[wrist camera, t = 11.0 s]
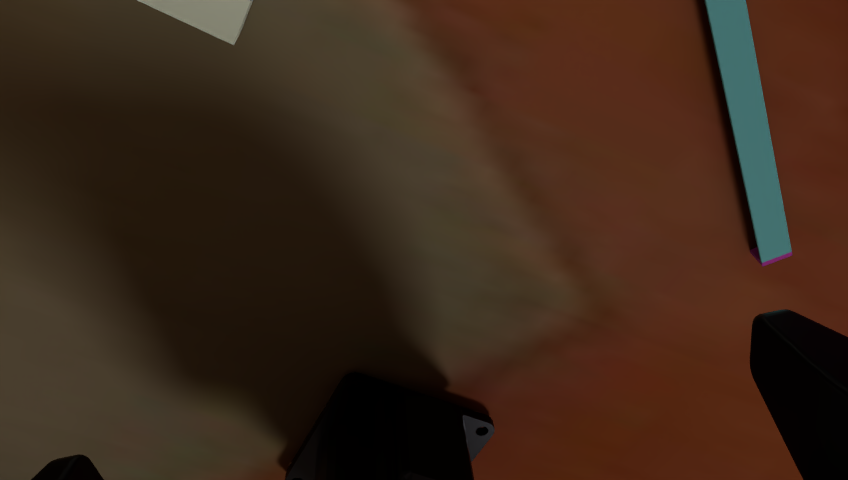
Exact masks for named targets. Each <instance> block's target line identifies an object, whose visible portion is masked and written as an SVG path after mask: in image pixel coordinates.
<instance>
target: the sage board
mask: <svg viewBox="0 0 848 480" xmlns="http://www.w3.org/2000/svg"><path fill="white" fill-rule="evenodd" d="M137 1H140V2H142V3H144V4H146V5H148V6H150V7H152V8H155V9H157V10H159V11H161V12H163V13H165V14H168V15H170V16H172V17H174V18H176V19H178V20H180V21H183V22H185V23H187V24H189V25H191V26H193V27H196V28H198V29H200V30H202V31H204V32H206V33H208V34H211V35H213V36H215V37H217V38H219V39H221V40H223V41H226V42H228V43H230V44H232V45H234V44H235V42H236V40H237V39H238V37H239V35H240V32H241V30H242V27H243V25H244V22H245V20H246V17H247V14H248V12H249V9H250V7H251V4H252V2H253V0H137Z"/></svg>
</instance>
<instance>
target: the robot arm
mask: <svg viewBox="0 0 848 480" xmlns="http://www.w3.org/2000/svg"><path fill="white" fill-rule="evenodd" d="M750 369H751V373H752V376H753V379H754V381H755V383H756V385H757V387H758V389H759V391H760V393H761V395H762V397H763V399H764V401H765V403H766V405H767V407H768V409H769V411H770V413H771V415H772V417H773V420H774V422H775V424H776V426H777V428H778V430H779V432H780V434H781V436H782V438H783V440H784V442H785V444H786V446H787V448H788V450H789V452H790V454H791V456H792V458H793V460H794V462H795V464H796V466H797V468H798V470H799V472H800V474H801V476H802V478H803V480H848V337H846V336H844V335H842V334H840V333H838V332H836V331H834V330H832V329H829V328H827V327H825V326H823V325H821V324H819V323H817V322H815V321H813V320H810V319H808V318H806V317H804V316H802V315H800V314H798V313H796V312H793V311H791V310H778V311H773V312H768V313H763V314H759V315H757V316H756V317H755V318H754V320H753V324H752V335H751V350H750ZM352 385H358V386H359V387H351V386H352ZM479 427H483V428H479ZM493 433H494V425H493V420H492V419H491V417H489V416H487V415H484V414H481V413H478V412H475V411H472V410H469V409H466V408H463V407H460V406H457V405H454V404H451V403H448V402H445V401H442V400H439V399H436V398H433V397H430V396H427V395H424V394H421V393H418V392H415V391H412V390H409V389H406V388H403V387H400V386H397V385H394V384H391V383H388V382H385V381H382V380H379V379H376V378H373V377H370V376H367V375H364V374H361V373H356V372H354V373H349V374H347V375H345V376H344V377H343V379H342V380H341V382H340V384H339V385H338V387H337V388H336V390H335V392H334V393H333V395H332V397H331V398H330V400H329V402H328V403H327V405H326V407H325V408H324V410H323V412H322V413H321V415H320V416H319V418H318V420H317V421H316V423H315V425H314V426H313V428H312V430H311V431H310V433H309V435H308V436H307V438H306V440H305V441H304V443H303V445H302V446H301V448H300V449H299V451H298V453H297V454H296V456H295V458H294V459H293V461H292V463H291V464H290V466H289V468H288V469H287V471H286V476H285V480H474V476H473V471H472V465H471V462H472V461H473V459H474V458H475V457H476V455H477V454H478V453H479V452H480V450H481V449H482V448H483V447H484V445H485V444H486V443H487V442H488V440H489V439H490V438H491V436H492V435H493ZM31 480H104V479H103V478H102V476H101V475H100V473H99V472H98V470H97V469H96V468H95V466H94V465H93V463H92V462H91V460H90V459H89V458H88V457H86V456H84V455H73V456H69V457H64V458H59V459H56V460H53V461H51V462H50V463H48V464H47V465H46V466H45V467H44V468H43V469H42V470H41V471H40V472H39V473H38V474H37V475H36V476H35V477H34V478H32V479H31Z"/></svg>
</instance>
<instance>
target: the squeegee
mask: <svg viewBox="0 0 848 480" xmlns="http://www.w3.org/2000/svg"><path fill="white" fill-rule="evenodd" d="M704 1H705V5H706V10H707V15H708V19H709V24H710V29H711V33H712V38H713V43H714V47H715V52H716V56H717V61H718V66H719V70H720V75H721V80H722V84H723V89H724V94H725V98H726V103H727V108H728V112H729V117H730V122H731V126H732V131H733V136H734V140H735V145H736V150H737V154H738V159H739V164H740V168H741V173H742V178H743V182H744V187H745V192H746V196H747V201H748V206H749V210H750V215H751V220H752V224H753V229H754V234H755V238H756V243H757V247H756V248H754V249H751V250H750V252H751V254H752V255H753V256H754V257H755V258H756V260H757V261H758V262H759V263H760V264H761V265H762V266H765V265H768V264H770V263H773V262H776V261H778V260H781V259H784V258H786V257H789V256H792V251H791V245H790V240H789V234H788V229H787V223H786V218H785V213H784V207H783V202H782V196H781V191H780V185H779V180H778V174H777V169H776V163H775V158H774V153H773V147H772V142H771V136H770V131H769V125H768V120H767V114H766V109H765V103H764V98H763V93H762V87H761V82H760V76H759V71H758V65H757V60H756V54H755V49H754V43H753V38H752V32H751V27H750V22H749V16H748V11H747V5H746V0H704Z"/></svg>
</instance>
